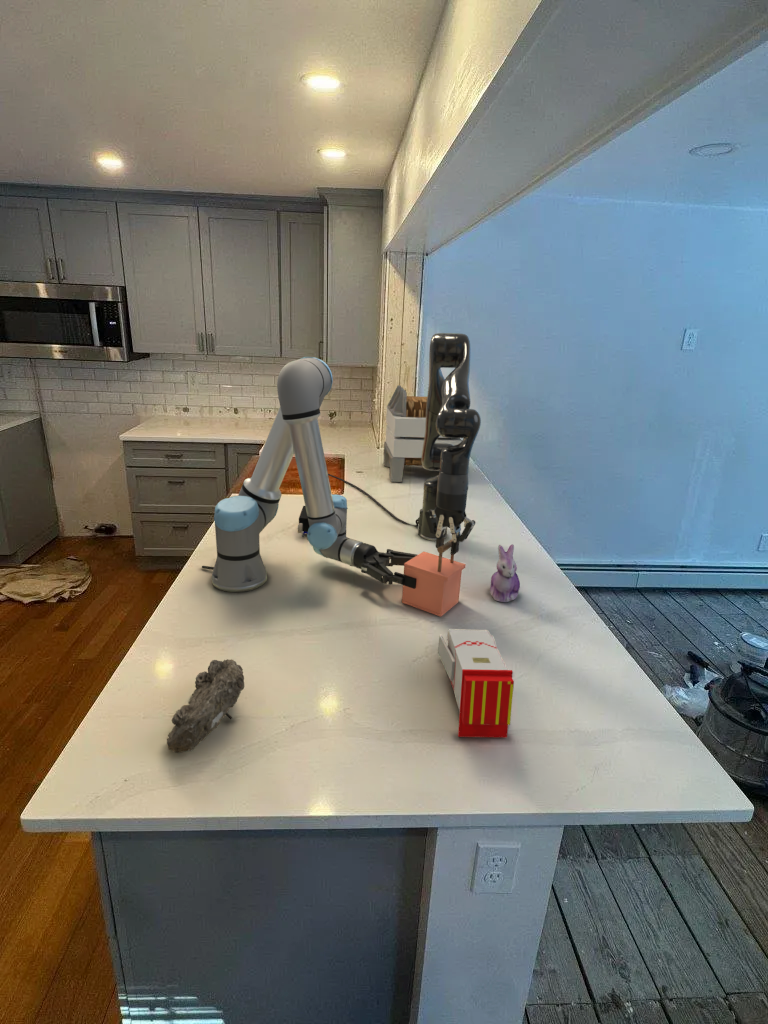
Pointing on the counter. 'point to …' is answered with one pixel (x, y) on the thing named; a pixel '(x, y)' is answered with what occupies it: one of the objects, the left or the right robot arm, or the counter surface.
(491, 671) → the toy
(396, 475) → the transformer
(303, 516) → the figurine character
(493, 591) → the figurine
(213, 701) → the fossil
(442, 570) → the lid
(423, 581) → the chest
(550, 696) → the counter surface
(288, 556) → the counter surface
